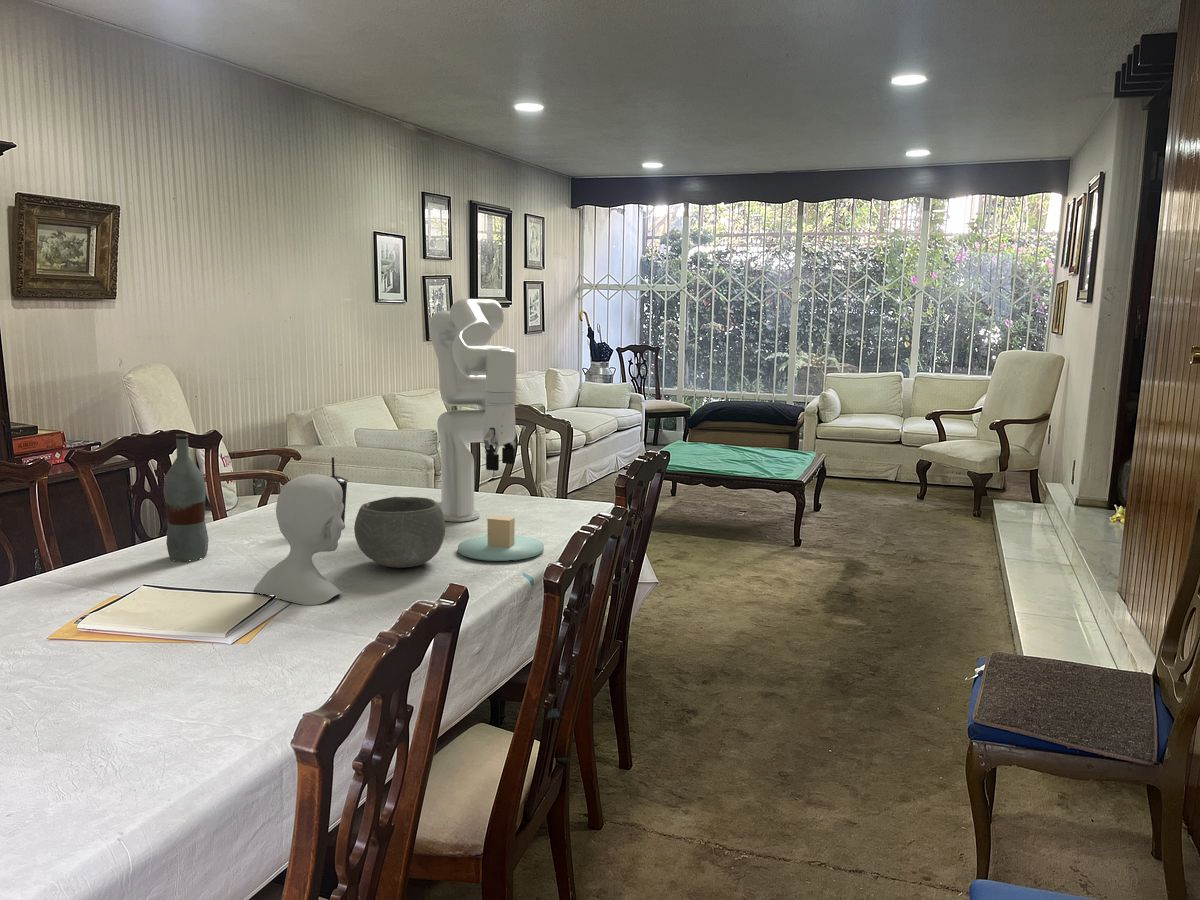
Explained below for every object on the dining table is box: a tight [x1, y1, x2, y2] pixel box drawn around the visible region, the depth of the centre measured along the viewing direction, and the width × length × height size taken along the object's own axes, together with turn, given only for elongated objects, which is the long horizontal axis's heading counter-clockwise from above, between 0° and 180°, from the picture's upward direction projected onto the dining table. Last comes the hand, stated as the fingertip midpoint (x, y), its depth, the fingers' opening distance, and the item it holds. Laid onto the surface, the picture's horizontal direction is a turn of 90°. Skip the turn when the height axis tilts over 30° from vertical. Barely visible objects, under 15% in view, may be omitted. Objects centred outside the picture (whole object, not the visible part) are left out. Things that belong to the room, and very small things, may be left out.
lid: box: [457, 515, 545, 562], centre depth 224 cm, size 22×22×8 cm
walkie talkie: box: [329, 456, 349, 524], centre depth 243 cm, size 8×8×20 cm
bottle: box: [162, 433, 209, 562], centre depth 212 cm, size 9×9×30 cm
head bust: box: [253, 473, 346, 606], centre depth 191 cm, size 22×19×25 cm
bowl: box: [354, 496, 446, 569], centre depth 210 cm, size 21×21×15 cm
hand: (500, 466), depth 222 cm, fingers open, 9 cm apart
